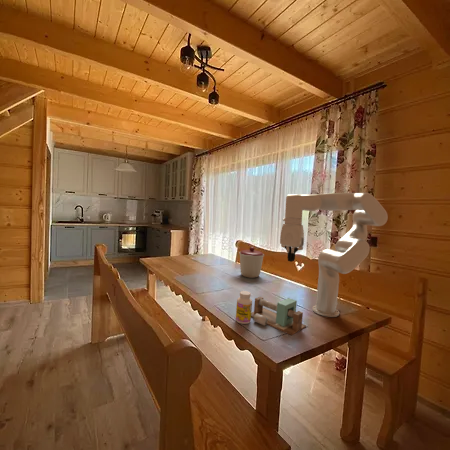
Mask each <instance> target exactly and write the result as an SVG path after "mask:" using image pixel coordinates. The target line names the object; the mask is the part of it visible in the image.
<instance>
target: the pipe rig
mask: <svg viewBox="0 0 450 450" xmlns="http://www.w3.org/2000/svg"><path fill="white" fill-rule="evenodd" d="M253 307H254V308H253V311H251V319H252V318H253V319H254V315H255V314H256V313H258V314H260V315H262V316H265V317H267V318H268V322H267V324H266V325H267V326H270V327H272V328H274V329H276V330H278V331H281V332H283V333H285V334H286V335H289V336H293V335H295V334H297V333H298V332H300V331H301V330H303V329H305V328H307V325H306V324H303V314H304V313H303V312H302V311H300V310H298V311H296V312H295V311H293V310H291V309H288V313H287V316H288V317H292V318H293V322H291V323H289V324H287V325H286V326H282V325H279V324H277V323H276V314H277V303H274V302H271V301H268V300H266V299H264V297H262V296H258V297H255V298H254V306H253ZM264 307H265V308H264ZM267 308H268V309H267ZM274 311H276V312H274Z"/></svg>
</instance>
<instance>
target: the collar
mask: <svg viewBox="0 0 450 450" xmlns="http://www.w3.org/2000/svg"><path fill="white" fill-rule="evenodd" d="M276 304H277V311H276V313H277V314H276V323H277V324H279V325H282V326H286V325H287V324H289V323H291V322H293V318H292V317H288V316H287V313H288V309H291V310H293V311H295V312H297V304H298V303H297V300H296V299H293V298H290V297H288V298H286V299H283V300H280V301H277V303H276Z"/></svg>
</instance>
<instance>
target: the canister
mask: <svg viewBox="0 0 450 450" xmlns="http://www.w3.org/2000/svg"><path fill="white" fill-rule="evenodd" d="M238 253H239V254H238V255H239V265H240V266H239V267H240V274H241V276H242V277H245V278H250V279H253V278H258V277H259V276H260V275H261V272H262V266H263V259H264V257H265V254H264V253H263V252H262V251H260V250H256V249H255V247H254V246H251V247H249V249H243V250H240V251H239V252H238Z"/></svg>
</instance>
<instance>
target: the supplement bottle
mask: <svg viewBox="0 0 450 450" xmlns="http://www.w3.org/2000/svg"><path fill="white" fill-rule="evenodd" d="M251 296H252V295H251V292H250V291H246V290H242V291H239V297H238V298H237V299H236V308H235V309H236V310H235V321H236V322H237V323H239V324H242V325H247V324H249V323H251V320H252V317H251V313H252V312H253V311H252V310H253V300H252V298H251Z"/></svg>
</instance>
